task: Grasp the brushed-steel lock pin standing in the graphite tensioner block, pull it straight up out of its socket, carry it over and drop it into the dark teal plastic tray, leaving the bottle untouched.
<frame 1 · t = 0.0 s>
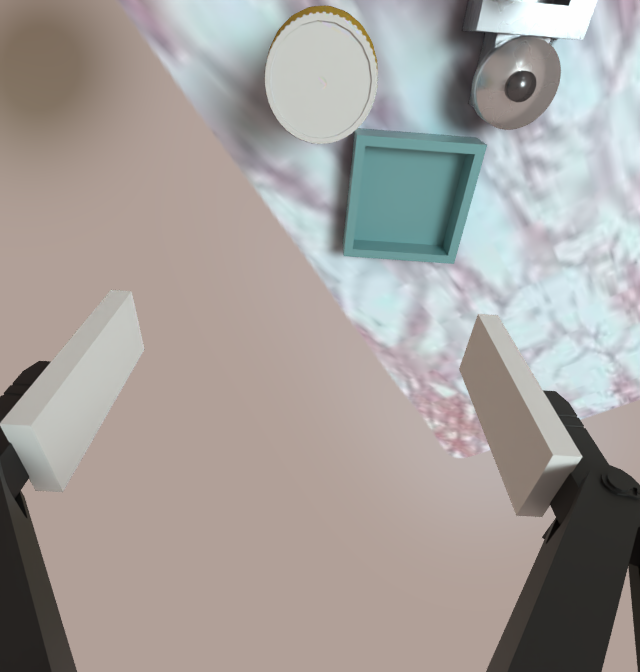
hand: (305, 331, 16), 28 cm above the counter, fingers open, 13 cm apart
bottle: (323, 64, 35), on the counter
tray: (404, 194, 41), on the counter
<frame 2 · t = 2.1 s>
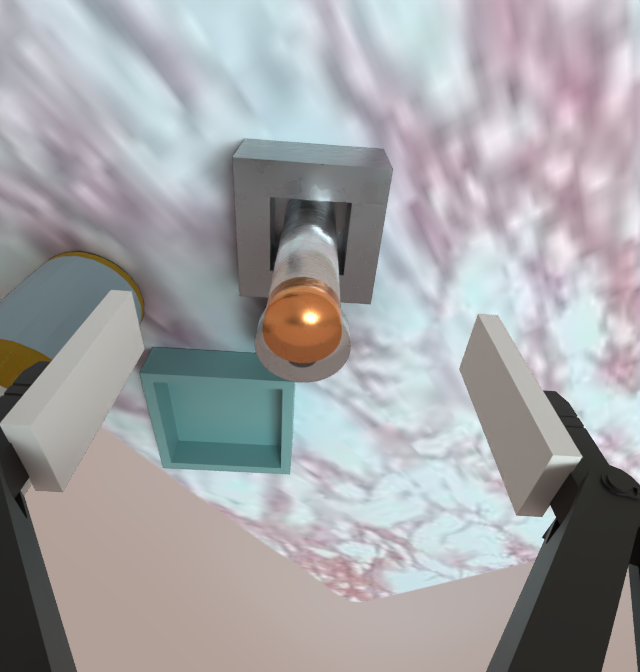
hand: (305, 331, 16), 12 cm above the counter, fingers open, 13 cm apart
tensioner: (310, 211, 26), on the counter
pin: (310, 217, 25), point 1 cm above the counter, touching tensioner
bottle: (97, 292, 30), on the counter
tray: (229, 401, 36), on the counter
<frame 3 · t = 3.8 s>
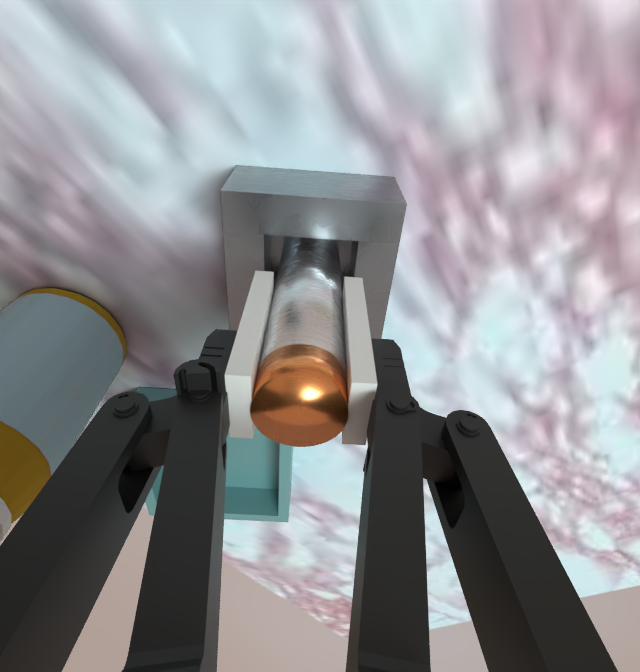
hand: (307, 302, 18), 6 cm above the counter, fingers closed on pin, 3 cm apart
tensioner: (311, 245, 23), on the counter
pin: (310, 252, 22), point 1 cm above the counter, touching gripper, tensioner
bottle: (75, 329, 27), on the counter
tray: (222, 443, 33), on the counter
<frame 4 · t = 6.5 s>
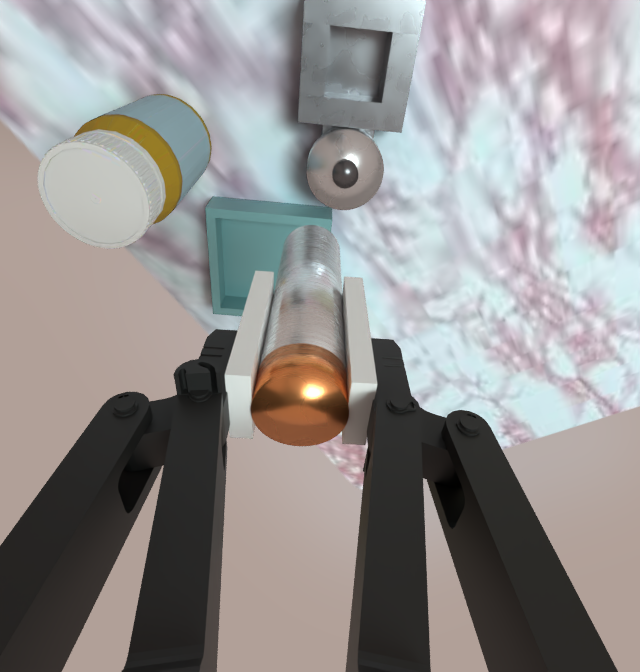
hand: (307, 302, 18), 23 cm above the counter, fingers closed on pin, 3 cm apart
tensioner: (354, 61, 33), on the counter
pin: (311, 252, 22), point 18 cm above the counter, touching gripper
bottle: (172, 139, 36), on the counter
tray: (271, 256, 42), on the counter
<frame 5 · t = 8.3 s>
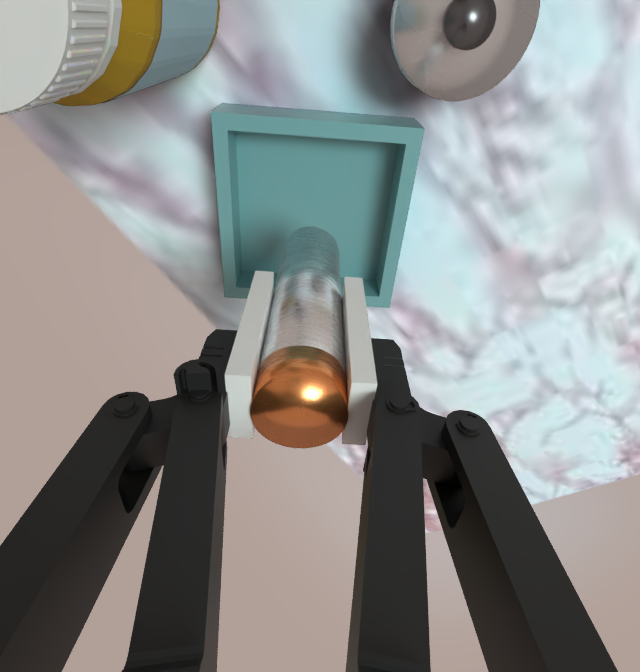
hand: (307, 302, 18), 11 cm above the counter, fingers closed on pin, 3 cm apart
pin: (310, 253, 22), point 6 cm above the counter, touching gripper
tray: (313, 205, 27), on the counter
when the fingers open (7 cm above the counter, at t = 9.4 s): pin drops 1 cm, resting on tray.
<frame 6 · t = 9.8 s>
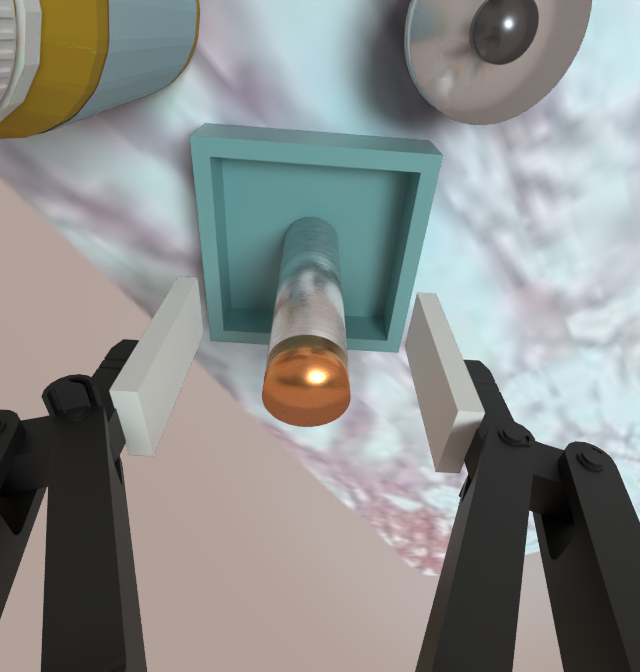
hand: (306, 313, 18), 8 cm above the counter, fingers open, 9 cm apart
pin: (311, 242, 23), point 1 cm above the counter, touching tray
tray: (312, 237, 24), on the counter
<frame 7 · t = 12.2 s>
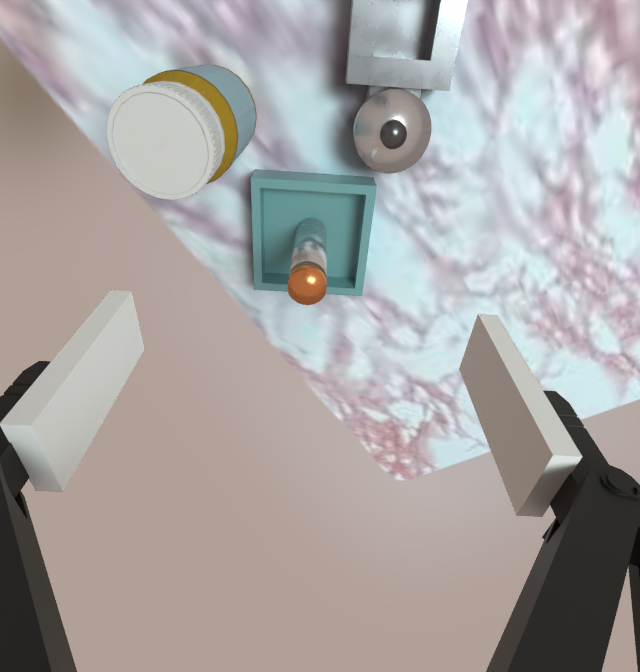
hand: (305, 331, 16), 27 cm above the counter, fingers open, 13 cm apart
tensioner: (399, 25, 33), on the counter
pin: (311, 232, 42), point 1 cm above the counter, touching tray
bottle: (217, 111, 37), on the counter
tray: (311, 230, 42), on the counter
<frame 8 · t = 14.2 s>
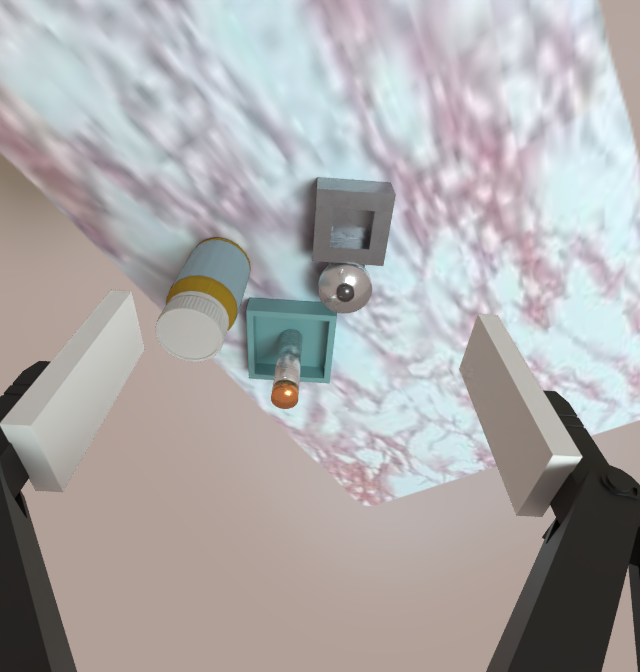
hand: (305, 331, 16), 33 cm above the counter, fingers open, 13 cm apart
tensioner: (350, 215, 47), on the counter
pin: (291, 338, 56), point 1 cm above the counter, touching tray
bottle: (222, 262, 51), on the counter
tray: (291, 335, 57), on the counter
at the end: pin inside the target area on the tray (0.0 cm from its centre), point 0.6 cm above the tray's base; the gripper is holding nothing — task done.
